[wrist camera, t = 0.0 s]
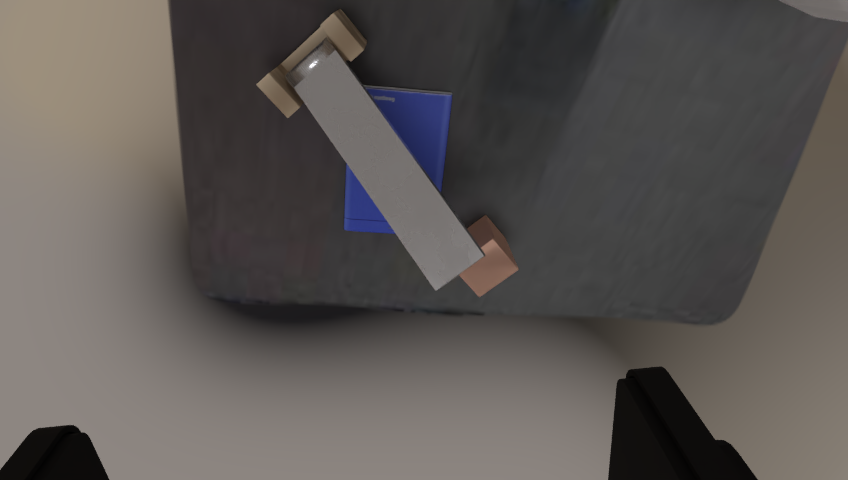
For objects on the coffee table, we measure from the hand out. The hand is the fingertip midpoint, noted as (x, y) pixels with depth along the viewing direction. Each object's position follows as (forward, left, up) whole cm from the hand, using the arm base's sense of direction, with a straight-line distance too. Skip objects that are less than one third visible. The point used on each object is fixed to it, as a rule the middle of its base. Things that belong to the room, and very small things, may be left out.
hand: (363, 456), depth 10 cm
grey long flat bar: (+3, -3, -30) cm, 30 cm away
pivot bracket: (-5, -2, -37) cm, 38 cm away
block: (+16, -2, -37) cm, 40 cm away
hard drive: (+5, -4, -38) cm, 39 cm away
